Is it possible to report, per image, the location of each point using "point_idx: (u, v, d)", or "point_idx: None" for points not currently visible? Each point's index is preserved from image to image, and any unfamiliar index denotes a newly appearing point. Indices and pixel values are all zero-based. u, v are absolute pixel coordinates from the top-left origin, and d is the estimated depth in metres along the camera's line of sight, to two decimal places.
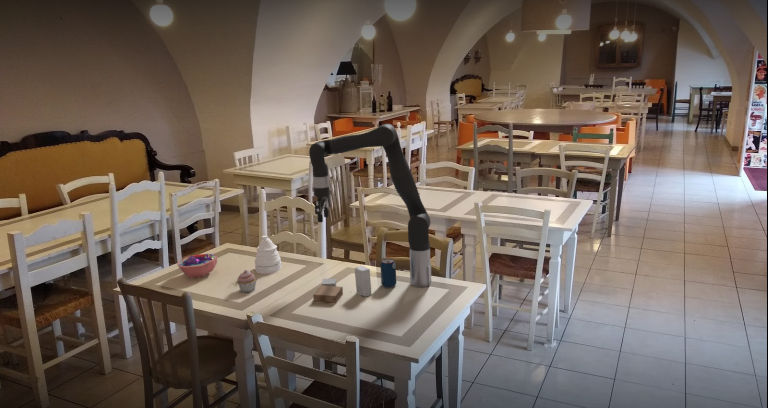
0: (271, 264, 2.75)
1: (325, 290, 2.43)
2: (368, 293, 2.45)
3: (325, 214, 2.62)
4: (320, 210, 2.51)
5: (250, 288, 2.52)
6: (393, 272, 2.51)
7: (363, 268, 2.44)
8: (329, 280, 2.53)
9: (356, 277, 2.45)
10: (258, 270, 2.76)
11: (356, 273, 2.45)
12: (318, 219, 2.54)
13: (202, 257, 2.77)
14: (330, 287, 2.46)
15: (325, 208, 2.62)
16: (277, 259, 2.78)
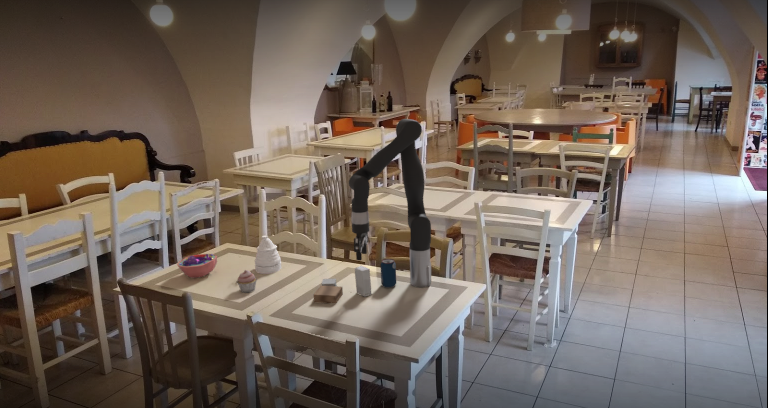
0: (271, 264, 2.75)
1: (325, 290, 2.43)
2: (368, 293, 2.45)
3: (363, 250, 2.46)
4: (359, 248, 2.35)
5: (250, 288, 2.52)
6: (393, 272, 2.51)
7: (363, 268, 2.44)
8: (329, 280, 2.53)
9: (356, 277, 2.45)
10: (258, 270, 2.76)
11: (356, 273, 2.45)
12: (357, 257, 2.37)
13: (202, 257, 2.77)
14: (330, 287, 2.46)
15: (363, 244, 2.46)
16: (277, 259, 2.78)
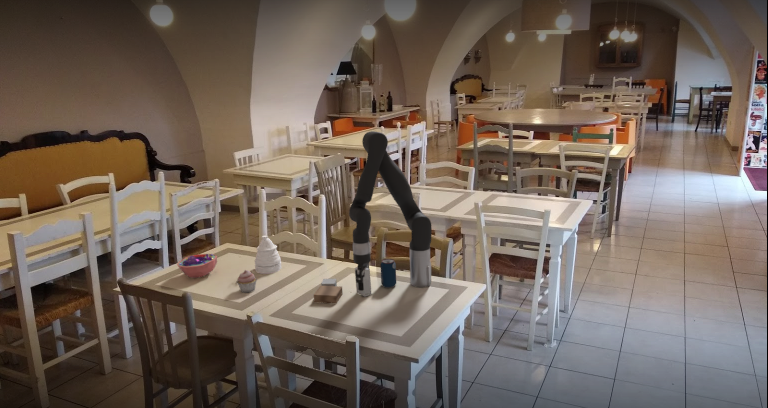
0: (271, 264, 2.75)
1: (325, 290, 2.43)
2: (368, 293, 2.45)
3: None
4: (361, 279, 2.39)
5: (250, 288, 2.52)
6: (393, 272, 2.51)
7: None
8: (329, 280, 2.53)
9: None
10: (258, 270, 2.76)
11: None
12: (359, 287, 2.41)
13: (202, 257, 2.77)
14: (330, 287, 2.46)
15: None
16: (277, 259, 2.78)
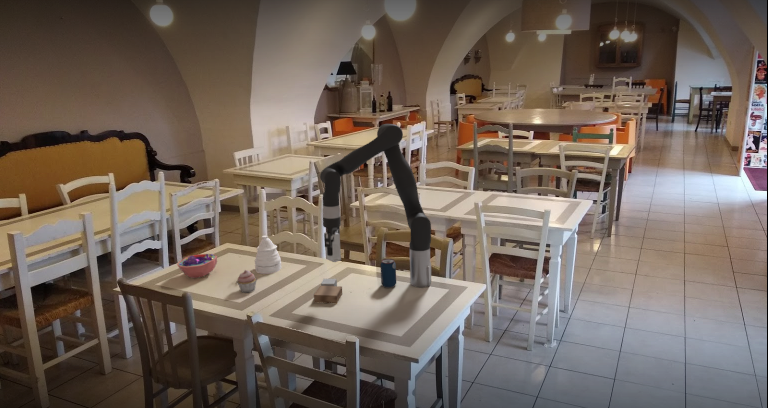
0: (271, 264, 2.75)
1: (325, 290, 2.43)
2: (337, 259, 2.38)
3: None
4: (330, 243, 2.32)
5: (250, 288, 2.52)
6: (393, 272, 2.51)
7: None
8: (329, 280, 2.53)
9: None
10: (258, 270, 2.76)
11: None
12: (328, 252, 2.35)
13: (202, 257, 2.77)
14: (330, 287, 2.46)
15: None
16: (277, 259, 2.78)
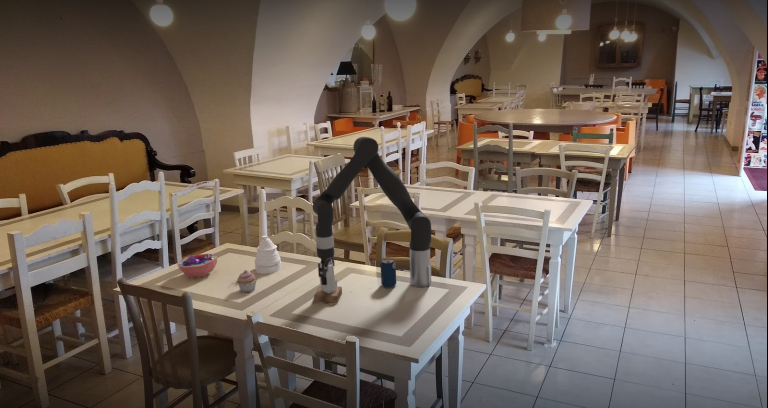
0: (271, 264, 2.75)
1: None
2: (332, 290, 2.40)
3: None
4: (324, 273, 2.34)
5: (250, 288, 2.52)
6: (393, 272, 2.51)
7: None
8: None
9: None
10: (258, 270, 2.76)
11: None
12: (322, 282, 2.36)
13: (202, 257, 2.77)
14: None
15: None
16: (277, 259, 2.78)
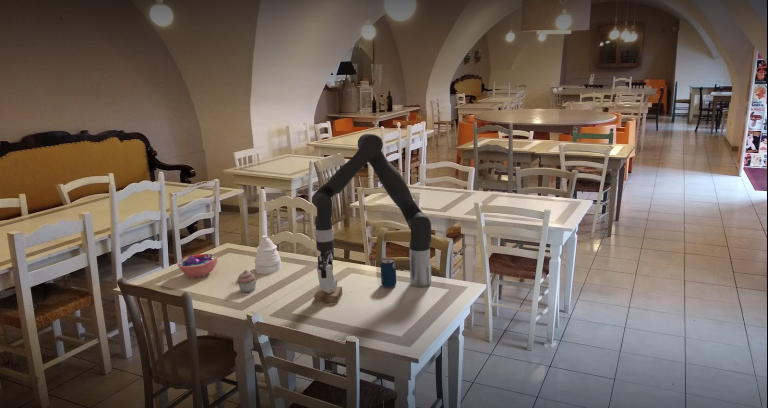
0: (271, 264, 2.75)
1: None
2: (332, 289, 2.41)
3: None
4: (324, 266, 2.33)
5: (250, 288, 2.52)
6: (393, 272, 2.51)
7: None
8: None
9: (318, 274, 2.41)
10: (258, 270, 2.76)
11: (318, 270, 2.40)
12: (321, 275, 2.35)
13: (202, 257, 2.77)
14: None
15: (329, 261, 2.44)
16: (277, 259, 2.78)
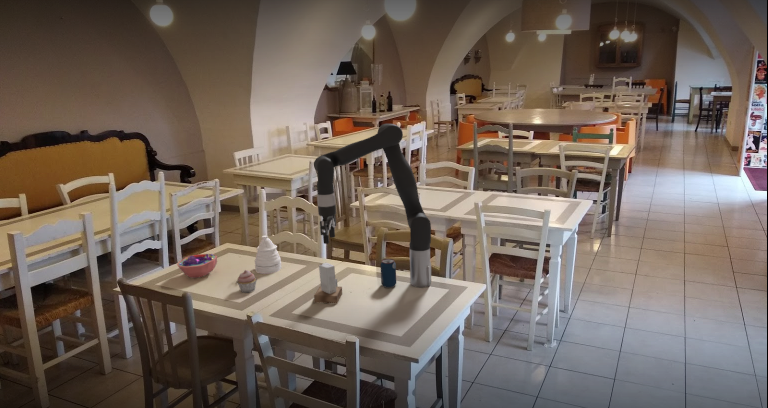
0: (271, 264, 2.75)
1: None
2: (333, 290, 2.40)
3: (331, 234, 2.42)
4: (326, 231, 2.31)
5: (250, 288, 2.52)
6: (393, 272, 2.51)
7: (328, 265, 2.39)
8: None
9: (320, 274, 2.40)
10: (258, 270, 2.76)
11: (320, 270, 2.40)
12: (324, 240, 2.34)
13: (202, 257, 2.77)
14: None
15: (331, 228, 2.42)
16: (277, 259, 2.78)
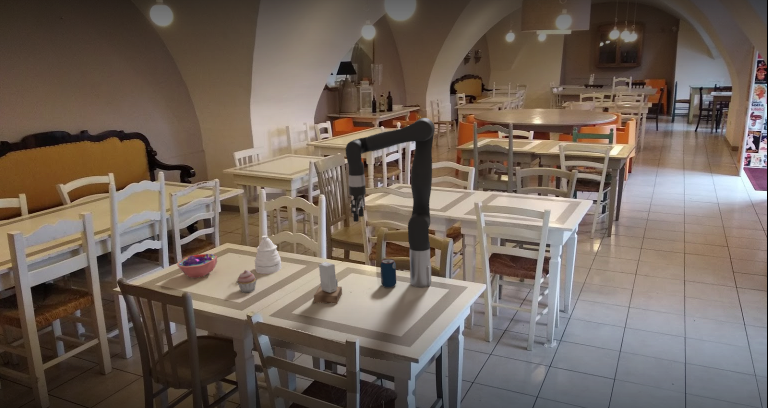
0: (271, 264, 2.75)
1: None
2: (333, 289, 2.41)
3: (360, 213, 2.58)
4: (356, 209, 2.47)
5: (250, 288, 2.52)
6: (393, 272, 2.51)
7: (328, 264, 2.40)
8: None
9: (320, 273, 2.41)
10: (258, 270, 2.76)
11: (321, 269, 2.40)
12: (354, 218, 2.50)
13: (202, 257, 2.77)
14: None
15: (360, 207, 2.58)
16: (277, 259, 2.78)
